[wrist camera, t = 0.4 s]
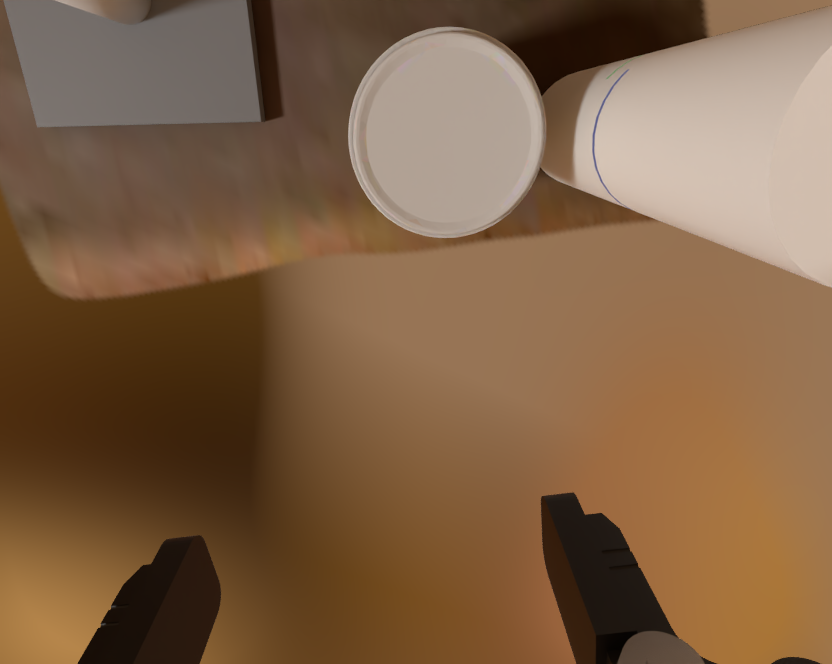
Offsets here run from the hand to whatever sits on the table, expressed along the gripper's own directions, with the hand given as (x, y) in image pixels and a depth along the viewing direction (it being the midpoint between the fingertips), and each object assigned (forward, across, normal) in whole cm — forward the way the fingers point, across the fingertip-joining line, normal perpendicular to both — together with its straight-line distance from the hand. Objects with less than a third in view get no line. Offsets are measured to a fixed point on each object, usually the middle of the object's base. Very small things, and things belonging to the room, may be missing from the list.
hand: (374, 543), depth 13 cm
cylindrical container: (+28, -14, -7) cm, 32 cm away
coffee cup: (+28, -4, -8) cm, 30 cm away
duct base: (+28, +13, -17) cm, 36 cm away
